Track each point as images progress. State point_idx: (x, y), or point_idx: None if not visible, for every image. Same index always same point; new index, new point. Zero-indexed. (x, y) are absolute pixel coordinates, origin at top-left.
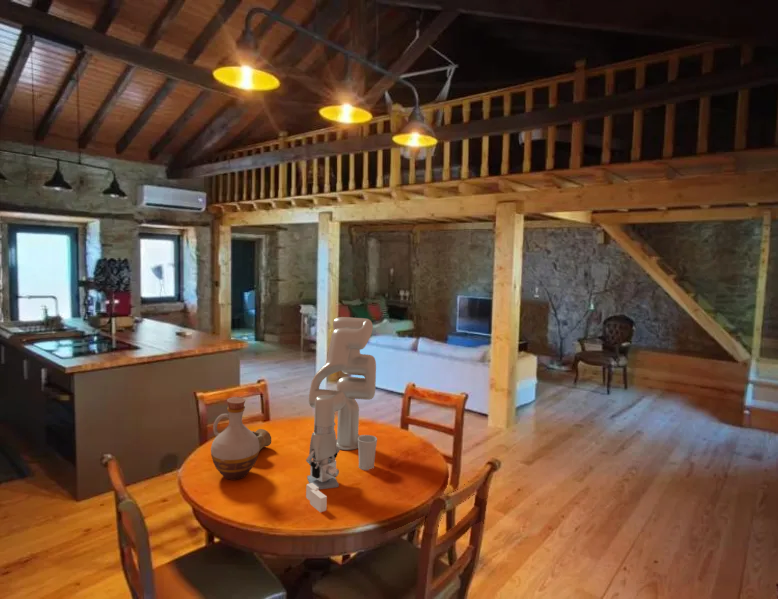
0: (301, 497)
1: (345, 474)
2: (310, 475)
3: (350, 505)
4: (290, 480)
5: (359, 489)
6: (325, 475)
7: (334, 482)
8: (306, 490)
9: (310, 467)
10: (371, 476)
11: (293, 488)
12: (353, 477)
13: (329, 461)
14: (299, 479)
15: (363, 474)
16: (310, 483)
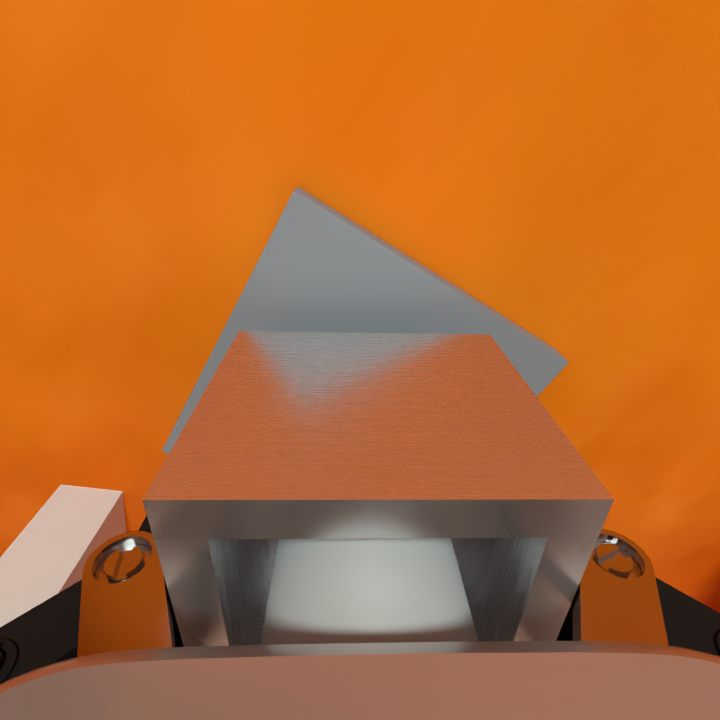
0: (22, 461)
1: (640, 419)
2: (237, 339)
3: None
4: (60, 47)
5: None
6: None
7: None
8: (14, 544)
9: (200, 399)
10: (706, 564)
11: (12, 276)
12: (619, 497)
13: (496, 609)
14: (192, 131)
15: (715, 513)
16: (20, 611)
